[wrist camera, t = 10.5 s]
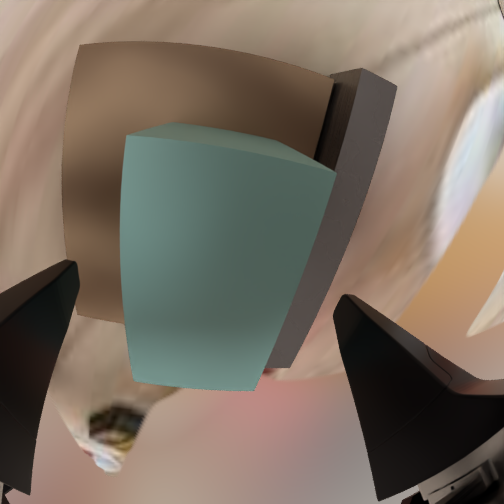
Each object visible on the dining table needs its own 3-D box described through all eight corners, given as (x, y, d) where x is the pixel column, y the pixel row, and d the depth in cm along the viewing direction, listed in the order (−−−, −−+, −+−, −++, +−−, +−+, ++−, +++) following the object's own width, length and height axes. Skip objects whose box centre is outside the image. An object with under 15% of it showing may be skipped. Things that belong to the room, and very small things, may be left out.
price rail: (283, 332, 20) (293, 367, 17) (254, 331, 20) (262, 367, 17) (365, 89, 12) (401, 88, 9) (330, 74, 12) (362, 68, 9)
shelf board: (253, 326, 20) (255, 338, 19) (82, 304, 17) (77, 314, 16) (325, 81, 12) (334, 79, 11) (89, 48, 9) (79, 44, 8)
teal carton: (279, 141, 12) (343, 175, 6) (241, 292, 16) (258, 391, 10) (172, 121, 11) (125, 135, 5) (155, 281, 15) (133, 381, 9)
